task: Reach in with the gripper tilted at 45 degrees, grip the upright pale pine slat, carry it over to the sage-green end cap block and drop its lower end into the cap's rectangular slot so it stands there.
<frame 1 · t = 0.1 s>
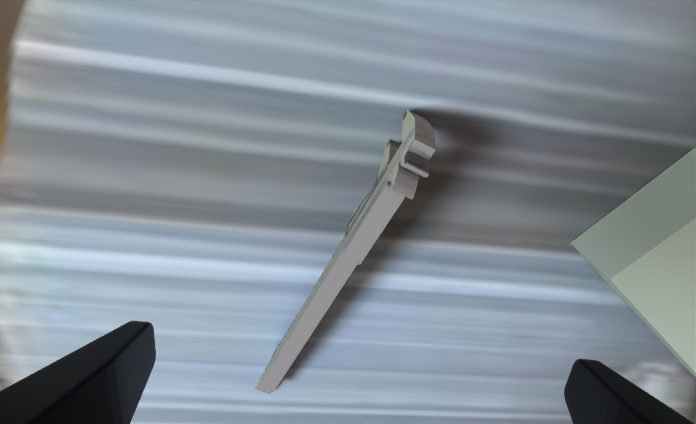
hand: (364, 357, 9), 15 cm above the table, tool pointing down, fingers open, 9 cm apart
caliper: (328, 266, 25), on the table
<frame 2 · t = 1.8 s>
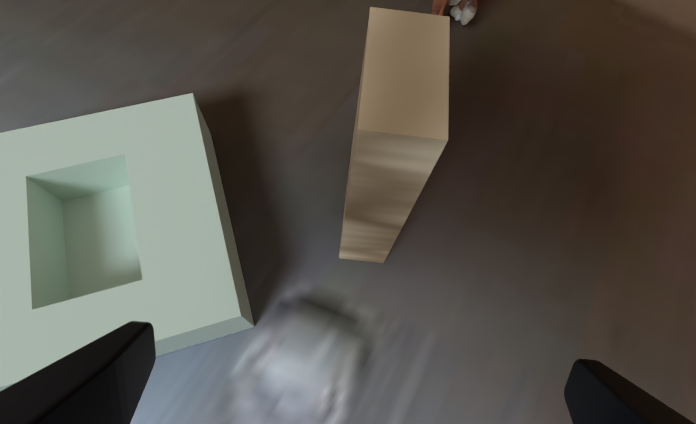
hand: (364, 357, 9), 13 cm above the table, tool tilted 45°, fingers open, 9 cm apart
end cap: (120, 251, 23), on the table
slat: (364, 222, 24), on the table
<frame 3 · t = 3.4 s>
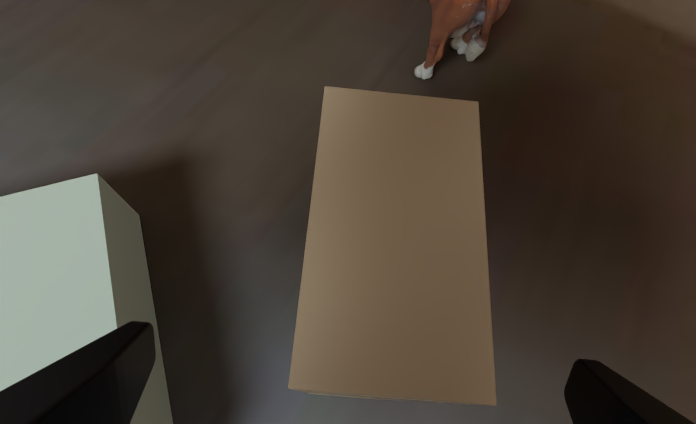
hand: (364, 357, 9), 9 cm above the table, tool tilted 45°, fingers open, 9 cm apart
slat: (346, 338, 18), on the table
bull figurine: (429, 14, 26), on the table
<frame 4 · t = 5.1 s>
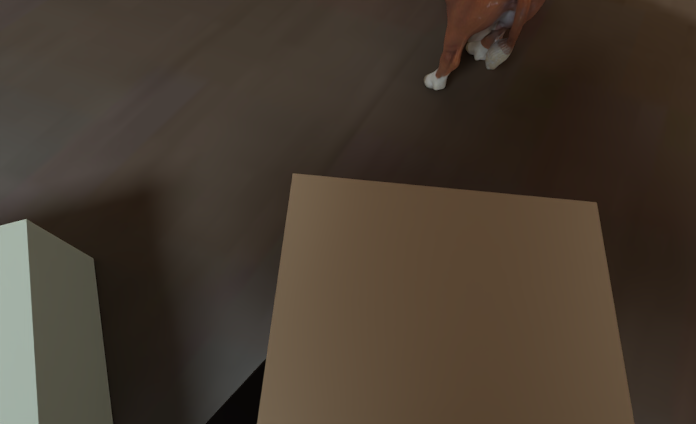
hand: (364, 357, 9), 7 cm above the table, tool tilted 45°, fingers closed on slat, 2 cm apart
slat: (343, 414, 15), on the table, touching gripper
bull figurine: (441, 12, 23), on the table
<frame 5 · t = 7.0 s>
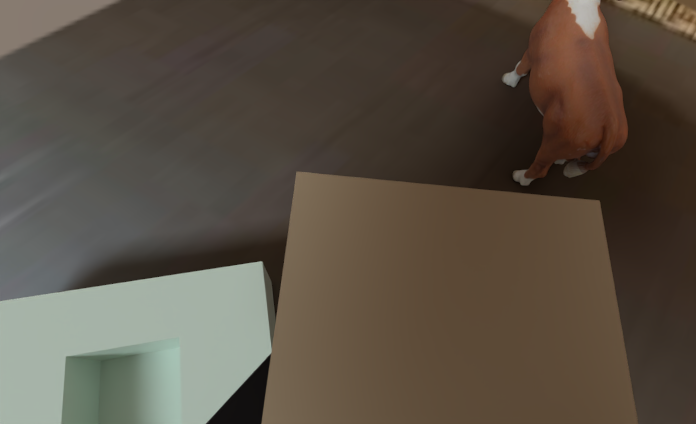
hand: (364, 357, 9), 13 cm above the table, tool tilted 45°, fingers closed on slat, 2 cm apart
slat: (344, 413, 15), point 7 cm above the table, touching gripper
bull figurine: (529, 117, 29), on the table
when the fingers open (9 cm above the table, at t = 9.0 s): slat drops 1 cm, resting on end cap.
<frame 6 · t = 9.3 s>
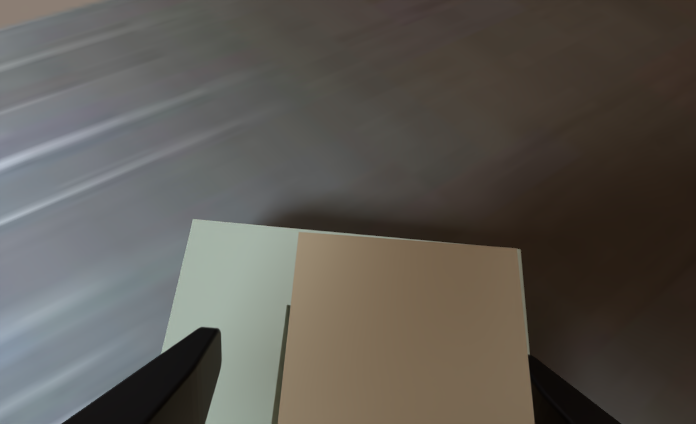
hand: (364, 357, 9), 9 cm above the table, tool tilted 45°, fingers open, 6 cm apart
end cap: (340, 410, 17), on the table
slat: (341, 410, 16), point 1 cm above the table, touching end cap
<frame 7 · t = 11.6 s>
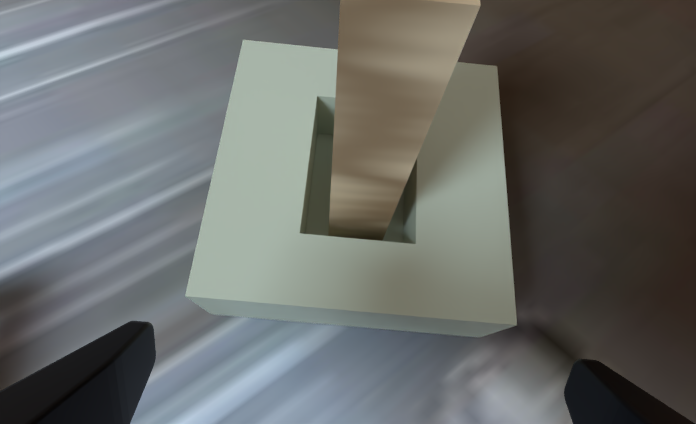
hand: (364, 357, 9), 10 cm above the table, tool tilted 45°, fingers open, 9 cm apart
end cap: (355, 203, 21), on the table
slat: (357, 194, 20), point 1 cm above the table, touching end cap
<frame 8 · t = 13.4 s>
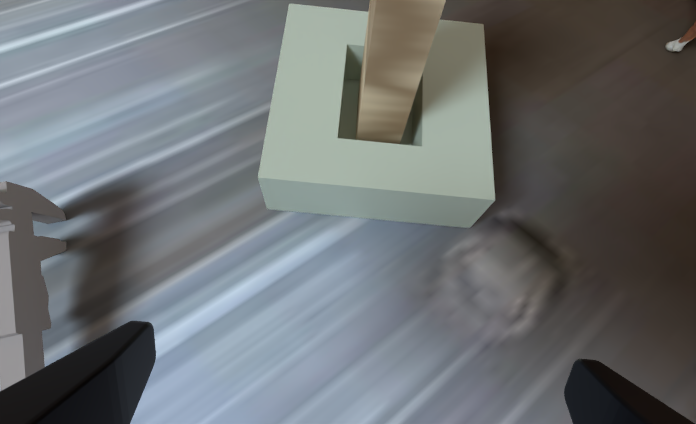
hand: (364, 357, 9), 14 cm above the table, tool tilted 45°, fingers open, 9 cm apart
end cap: (374, 132, 27), on the table
caliper: (59, 406, 21), on the table
slat: (376, 123, 26), point 1 cm above the table, touching end cap
bull figurine: (685, 11, 34), on the table
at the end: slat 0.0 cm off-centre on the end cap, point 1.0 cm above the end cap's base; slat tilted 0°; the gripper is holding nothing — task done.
